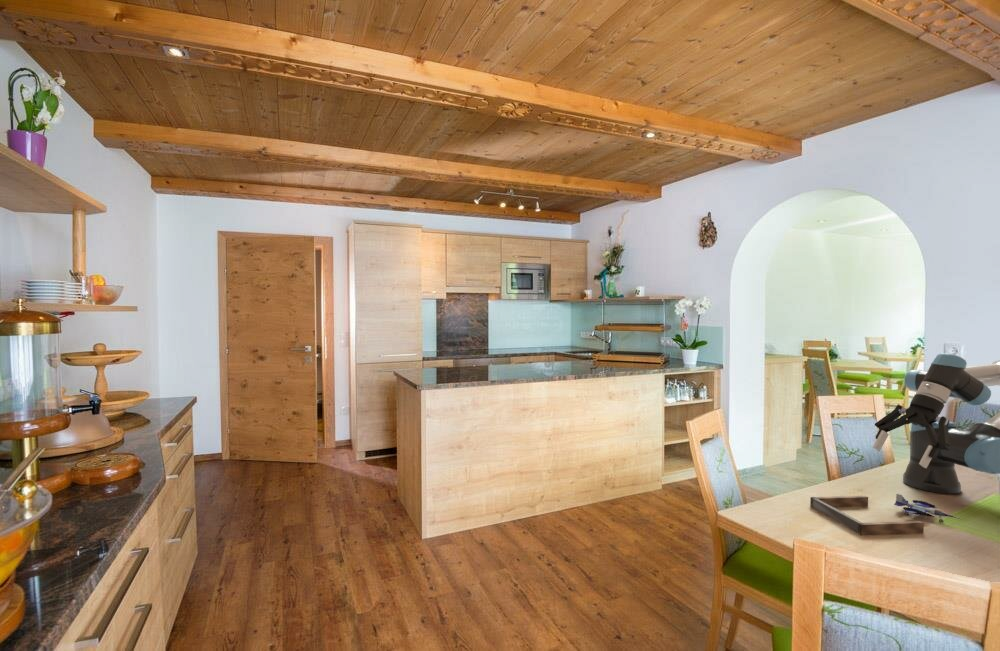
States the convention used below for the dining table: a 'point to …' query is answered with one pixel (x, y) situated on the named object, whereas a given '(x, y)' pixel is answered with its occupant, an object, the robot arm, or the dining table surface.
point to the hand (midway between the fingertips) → (898, 457)
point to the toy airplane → (919, 508)
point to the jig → (872, 528)
